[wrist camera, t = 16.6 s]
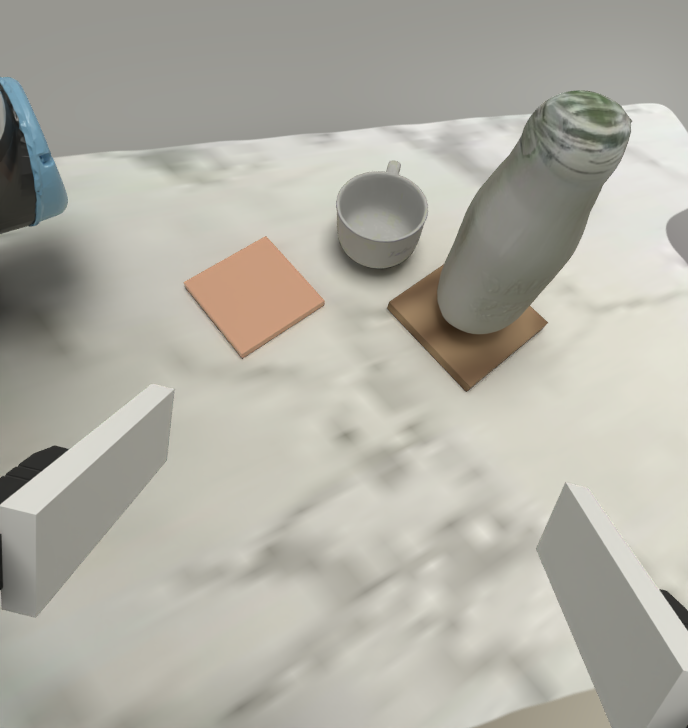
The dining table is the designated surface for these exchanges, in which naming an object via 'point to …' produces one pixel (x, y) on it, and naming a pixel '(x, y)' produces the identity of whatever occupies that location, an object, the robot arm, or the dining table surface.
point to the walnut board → (459, 333)
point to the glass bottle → (531, 211)
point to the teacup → (380, 217)
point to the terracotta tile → (254, 295)
